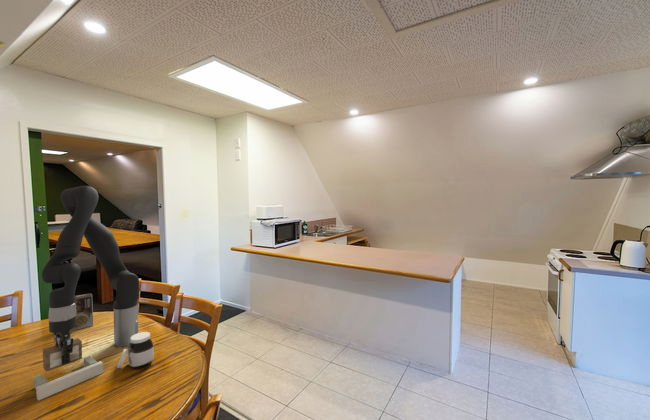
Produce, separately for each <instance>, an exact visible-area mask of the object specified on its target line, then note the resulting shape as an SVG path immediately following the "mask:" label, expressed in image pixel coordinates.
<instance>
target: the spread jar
mask: <svg viewBox="0 0 650 420" xmlns="http://www.w3.org/2000/svg"><path fill="white" fill-rule="evenodd" d="M154 351H155V350H154V343H153V340H152V339H151V333H150V332H148V331H143V332H138V333H137V334H135V335H133V336H132V337H131V338H130V343H129V345H127V348H124V349H123V350H122V352H121V355H120V358H119V361H118V364H117V367H116V368H117V369H122V367H123V366H124V363H125V359H126V358H127V362H128V365H129V367H130V368H132V369H134V370H135V369H136V368H137V369H142V368H144V366H145V367H147V366H148V365H150V364H151V363H152V362H153V361H154V359H155V358H154V356H155V355H154V354H155V353H154ZM146 365H147V366H146ZM141 367H142V368H141Z"/></svg>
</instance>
